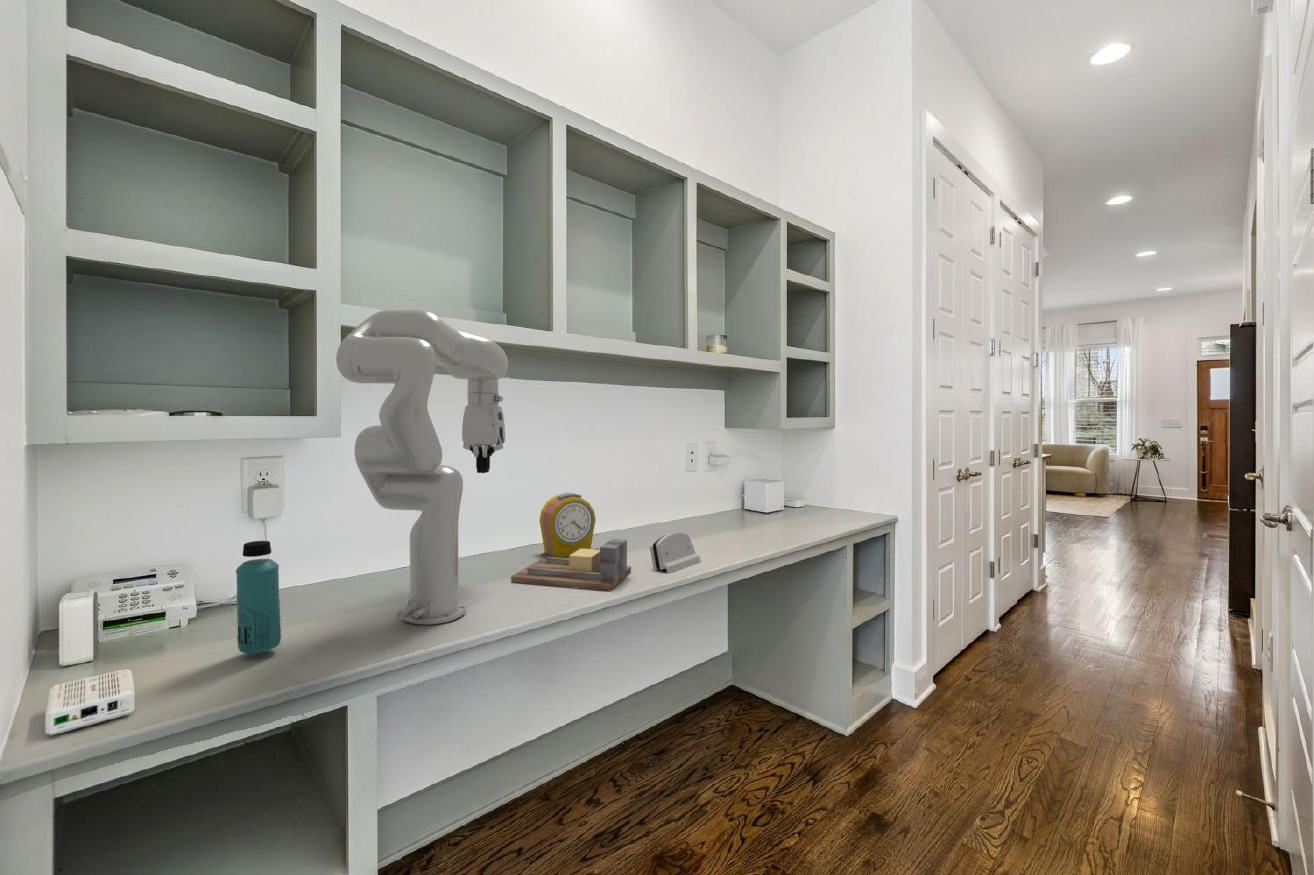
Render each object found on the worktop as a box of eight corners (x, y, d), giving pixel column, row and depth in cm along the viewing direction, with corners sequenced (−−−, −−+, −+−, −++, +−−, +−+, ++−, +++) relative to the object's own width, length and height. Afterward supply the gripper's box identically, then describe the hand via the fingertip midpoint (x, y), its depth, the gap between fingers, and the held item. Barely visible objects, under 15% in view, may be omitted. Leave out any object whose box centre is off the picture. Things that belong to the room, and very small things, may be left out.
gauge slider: (591, 576, 150) (591, 557, 150) (569, 575, 151) (569, 555, 151) (607, 564, 162) (607, 546, 162) (586, 562, 164) (586, 544, 163)
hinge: (668, 573, 159) (658, 537, 161) (654, 576, 162) (645, 540, 164) (701, 561, 173) (692, 527, 174) (688, 564, 175) (679, 531, 177)
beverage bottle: (289, 647, 108) (287, 537, 107) (266, 662, 101) (264, 546, 100) (252, 647, 108) (250, 537, 107) (227, 662, 101) (225, 545, 100)
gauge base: (609, 591, 144) (610, 552, 143) (511, 582, 150) (511, 544, 149) (630, 571, 161) (631, 536, 160) (541, 564, 167) (542, 530, 167)
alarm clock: (550, 559, 173) (550, 496, 172) (539, 553, 180) (539, 492, 179) (596, 553, 181) (596, 492, 180) (584, 547, 188) (584, 489, 187)
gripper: (516, 401, 154) (516, 472, 154) (464, 400, 157) (465, 470, 158) (502, 400, 146) (502, 475, 147) (448, 400, 150) (448, 472, 151)
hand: (483, 472), depth 153 cm, fingers closed
